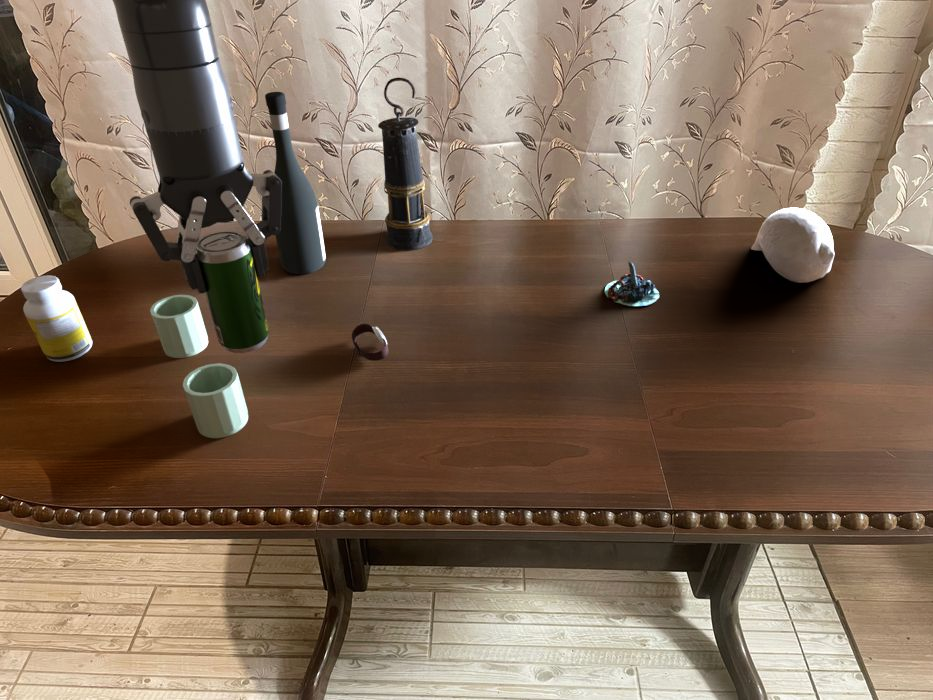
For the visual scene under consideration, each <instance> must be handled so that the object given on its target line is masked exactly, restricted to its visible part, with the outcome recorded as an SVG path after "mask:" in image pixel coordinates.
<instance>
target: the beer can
mask: <svg viewBox="0 0 933 700" xmlns="http://www.w3.org/2000/svg"><path fill="white" fill-rule="evenodd" d="M247 239H248V238H247V236H246V235H245V234H244V233H242V232H240V231H237V230H221V231H215V232H211V233H208V234H205V235H203V236H201V237H199V241H197V245H196V250H195V256H196V258H197V260H198V262H199V266H200V269H201V273H202V277H203V280H204V284H205V287H206V292H204V294H205V298H206V301H207V305H208V308H209V311H210V315H211V320H212V323H213V326H214V330H215V334H216V338H217V342H218V343H219V344H220V346H221V347H222V348H223V349H224V350H226V351H228V352H229V353H234V354H245V353H250V352H254V351H256V350H259V349H260V348H262V347H263V346H264V345H265V344H266V342H267V341H268V338H269V334H270V328H269V324H268V319H267V315H266V311H265V305H264V302H263V295H262V292H261V288H260V283H259V278H258V277H257V274H256V269H255V265H254V260H253V256H252V251H251V246H250V244H249V243H248V242H247Z"/></svg>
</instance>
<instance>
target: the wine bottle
mask: <svg viewBox="0 0 933 700" xmlns="http://www.w3.org/2000/svg"><path fill="white" fill-rule="evenodd" d="M264 98H265V104H266V107H267V109H268V114H269V119H270V124H271V125H270V126H271V131H272V136H273V142H274V147H275V166H274V171H273V173H274V174H275V175H276V176H277V177H278V178H279V179H280V180H281V181H282V201H281V231H280V233H279V234H278V235H274V236H275V241H276V246H277V251H278V257H279V261H280V266H281V268H283V269H284V271H285V272H288V273H290V274H294V275H309V274H312V273H314V272H317V271H319V270H320V269H321V268H323V267H324V266H325V264H326V261H327V256H326V250H325V249H326V248H325V242H324V235H323V229H322V222H321V216H320V210H319V204H318V200H317V197H316V194H315V191H314V189H313V187H312V184H311V183H310V181H309V179H308V178H307V175H306V174H305V173H304V171H303V169H302V168H301V165H300V164H299V162H298V159H297V157H296V155H295V151H294V148H293V144H292V143H293V142H292V138H291V137H292V136H291V131H290V126H289V119H288V112H287V100H286V93H285V92H283V91H271V92H270V91H269V92H267V93H265V95H264Z"/></svg>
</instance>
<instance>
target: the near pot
mask: <svg viewBox="0 0 933 700" xmlns="http://www.w3.org/2000/svg"><path fill="white" fill-rule="evenodd" d="M182 389H183V392H184V395H185V397H186V400H187V404H188V406H189V409H190V412H191V415H192V418H193V421H194V424H195V427H196V430H197V431H198V433H199V434H200V435H201V436H203V437H205V438H210V439H221V438H222V439H223V438H226V437H230V436H232V435H234V434H237V433H238V432H240V431H241V430H242V429H243V428H244V427H245V426H246V425H247V423H248V421H249V411H248V407H247V403H246V400H245V395H244V392H243V388H242V384H241V381H240V377H239V374H238V371H237V370H236V368H235V367H234V366H232V365H230V364H226V363H220V362H219V363H218V362H217V363H210V364H205V365H203V366H199V367H197V368H195V369H193V370H191V371H190V372H189V373H188V374H187V375H186V376H185V377H184V378H183V382H182Z"/></svg>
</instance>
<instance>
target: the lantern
mask: <svg viewBox="0 0 933 700" xmlns="http://www.w3.org/2000/svg"><path fill="white" fill-rule="evenodd" d="M395 82H404V83H407V84H408V85H409V86H410V88H411V91H412V93H411V94H412V96H411V98H412V99H416V88H415V86H414V84H413V83H412V82H411V81H410V80H409V79H407V78H405V77H393V78H391V79H389V80H388V81H387V82H386V83H385V86H384V89H383V96H384V100H385V101H386V103H387V104H388V105H389V106H391V107H393V114H394V115H395V116H396V117H391V118H387V119H383V120H382V121H381V122H379V123H378V124H377V127H378V129H380V130H381V137H382V149H383V150H382V152H383V167H384V183H383V186H384V187H383V191H384V193H385V194H387V204H388V206H387V208H388V213H387V214H386V216H385V218H384V223H385V226H386V235H385V242H386V244H387V245H388V246H389V247H390V248H393V249H395V250H402V251H414V250H415V251H416V250H420V249H424V248H427V247H428V246H429V245H431V244H432V242H433V238H434V237H433V233H432V231H431V226H430V219H431V216H430V214H429V213H428V212H427V211H426V209H425V200H424V199H425V198H424V191H425V189H426V185H425V183H426V182H425V179H424V176H423V169H422V164H421V158H420V150H419V143H418V136H417V135H418V134H417V126H418V125H419V123H420V121H419V120H418V119H417V118H415V117H408V116H407V117H403V116H404V114H405V110H404V108H403V107H402V106H400V105H399V104H396V103H393V102H392V101H391V100H390V99H389V97H388V94H387V93H388V89H389V86H390V84H392V83H395ZM397 109H399V110H400V111H397Z"/></svg>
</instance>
